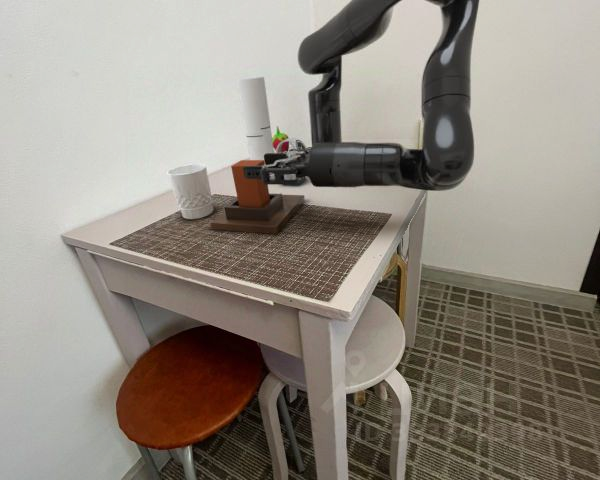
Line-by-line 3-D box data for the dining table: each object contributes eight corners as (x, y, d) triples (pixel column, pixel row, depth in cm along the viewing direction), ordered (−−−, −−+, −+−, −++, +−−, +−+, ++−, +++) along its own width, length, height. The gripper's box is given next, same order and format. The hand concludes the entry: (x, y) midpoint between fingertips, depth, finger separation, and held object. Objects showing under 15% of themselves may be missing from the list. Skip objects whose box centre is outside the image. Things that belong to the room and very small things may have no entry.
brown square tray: (248, 199, 77) (245, 183, 75) (304, 201, 73) (303, 184, 71) (211, 229, 64) (207, 210, 62) (277, 234, 60) (274, 214, 58)
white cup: (178, 211, 75) (165, 168, 70) (212, 203, 77) (203, 161, 72) (181, 224, 68) (168, 177, 63) (219, 214, 71) (208, 169, 66)
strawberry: (270, 159, 109) (266, 128, 105) (277, 154, 116) (273, 124, 111) (287, 159, 108) (283, 127, 103) (293, 153, 114) (290, 123, 109)
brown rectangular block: (249, 207, 69) (241, 160, 64) (271, 208, 67) (264, 159, 62) (240, 215, 65) (230, 166, 61) (263, 216, 64) (255, 165, 59)
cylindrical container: (280, 170, 96) (268, 76, 85) (259, 176, 93) (244, 79, 81) (268, 166, 102) (256, 77, 90) (248, 172, 98) (232, 80, 87)
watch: (305, 186, 82) (301, 141, 77) (276, 185, 85) (270, 141, 80) (313, 179, 86) (309, 136, 81) (285, 178, 89) (280, 136, 84)
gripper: (348, 133, 60) (267, 136, 65) (328, 153, 48) (232, 155, 54) (349, 173, 63) (273, 173, 69) (331, 201, 52) (240, 198, 57)
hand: (255, 165), depth 61 cm, fingers open, 8 cm apart
